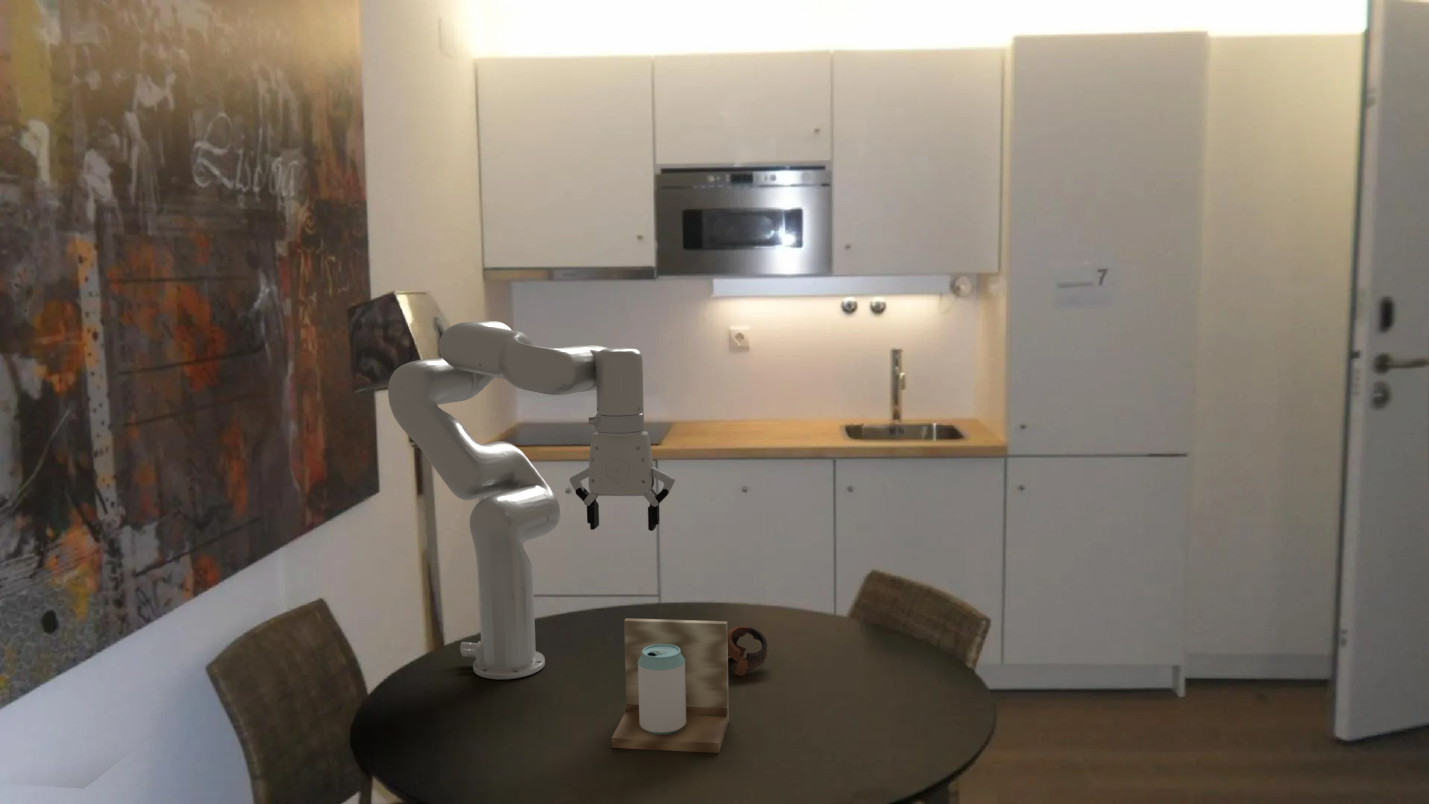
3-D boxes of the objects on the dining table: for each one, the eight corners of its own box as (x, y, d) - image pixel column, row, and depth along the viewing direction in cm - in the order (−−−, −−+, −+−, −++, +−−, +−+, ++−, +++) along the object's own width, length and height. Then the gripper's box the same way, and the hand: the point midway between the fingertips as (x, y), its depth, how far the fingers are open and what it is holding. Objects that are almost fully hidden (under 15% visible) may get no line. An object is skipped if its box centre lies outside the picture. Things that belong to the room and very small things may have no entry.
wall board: (611, 747, 154) (608, 642, 152) (628, 716, 165) (625, 618, 163) (718, 752, 152) (717, 646, 150) (728, 720, 163) (727, 621, 161)
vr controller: (757, 656, 192) (770, 625, 187) (759, 696, 184) (772, 665, 179) (694, 643, 190) (706, 612, 186) (693, 683, 182) (705, 651, 178)
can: (676, 739, 153) (674, 660, 152) (632, 733, 155) (630, 655, 154) (692, 719, 160) (691, 644, 158) (650, 714, 162) (648, 639, 160)
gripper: (562, 427, 166) (565, 532, 168) (669, 428, 163) (671, 534, 165) (574, 421, 173) (578, 522, 175) (677, 421, 171) (679, 523, 173)
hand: (623, 528), depth 170 cm, fingers open, 9 cm apart
